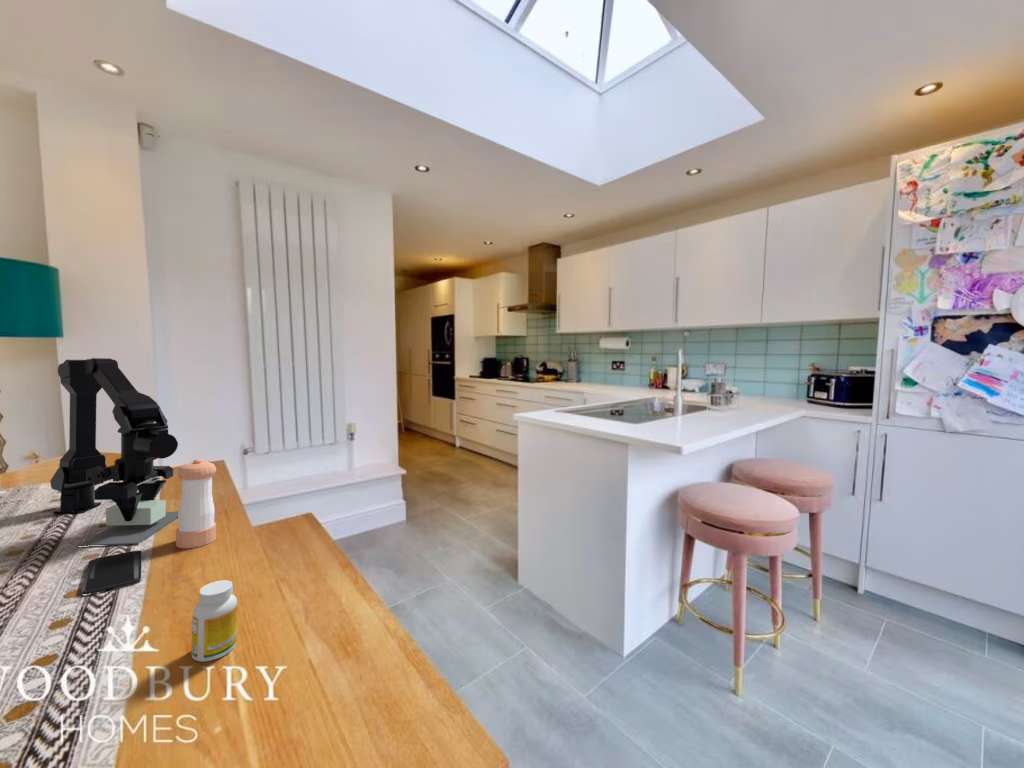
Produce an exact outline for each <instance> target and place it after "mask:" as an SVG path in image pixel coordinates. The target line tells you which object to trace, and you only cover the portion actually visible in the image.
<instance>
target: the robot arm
mask: <svg viewBox="0 0 1024 768" xmlns="http://www.w3.org/2000/svg"><path fill="white" fill-rule="evenodd" d="M118 363H119V362H118V361H117V360H116V359H113V358H105V357H104V358H103V357H102V358H100V357H92V358H87V359H65V360H64V361H63V362H61V363H60V364H59V365H58V366H57V375H58V376H59V377H60V384H61V385H62V387H63V388H64V389H65V390H66V391H67V392H68V393H69V434H68V435H69V439H68V440H69V441H68V442H69V443H68V445H69V446H68V450H67V451H65V453H64V454H63V456H62V457H61V458H60V459H59V464H58V468H57V469H56V471H55V473H54V475H52V477H51V479H50V480H49V482H50V487H51V489H52V490H54V491H57V492H60V499H59V500H60V503H59V506H60V508H58V509H55V510H53V514H65V513H66V514H70V513H73V514H75V513H85V512H87V511H90V510H92V509H94V508H96V507H98V506H100V505H102V501H105V500H107V501H109V500H111V501H112V502H114V503H115V504H117V506H118V507H119V509H120V511H121V513H122V515H123V517H124V519H125V521H132V519H133V517H134V514H135V512H136V509H137V506H138V504H139V501H142V500H156V497H157V496H158V495H159V493H160V491H161V490H162V488H163V487H164V485H165V483H166V482H167V480H169V479H170V478H172V477H174V469H173V467H172V466H170V465H154V461H155V460H157V459H162V460H163V459H168V458H169V457H171V456H172V455H174V454H175V452H176V451H177V449H178V447H179V443H178V440H177V438H176V437H175V436H174V435H173V434H170V433H169V425H168V420H167V418H166V416H165V414H164V412H163V411H162V408H161V406H160V405H159V403H157V402H156V401H155V400H154V399H153V398H152V397H151V396H149V395H147V394H144V393H142V392H139V391H138V390H137V389H136V388H135V386H134V385H133V384H132V382H131V381H130V380H129V379H128V377H126V375H125V374H124V373H123V371H122V370H121V369H120V367H119V364H118ZM101 390H103V391H104V392H105V393H106V394H107V396H108V397H109V399H110V400H111V401H112V403H113V405H114V406H113V409H112V415H113V418H114V420H115V422H116V423H117V424H118V426H119V428H118V429H117V432H118V433H119V434H121V437H120V438H121V439H120V441H121V442H120V457H119V458H116V459H115V460H114V464H112V465H110V466H109V465H108V466H107V464H106V459H107V458H106V457H107V456H106V455H104V454H102V453H101V452H100V451H99V450H98V449H97V397H98V396H97V395H98V393H99V392H100V391H101ZM160 477H163V478H164V479H162V480H161V478H160ZM111 480H112V481H111ZM107 481H109V482H107ZM110 481H111V482H110ZM104 482H106V483H104ZM100 484H101V486H99V485H100ZM97 485H98V487H97V488H95V486H97ZM96 501H97V502H96ZM99 501H101V502H99Z"/></svg>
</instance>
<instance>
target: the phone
mask: <svg viewBox="0 0 1024 768" xmlns="http://www.w3.org/2000/svg"><path fill="white" fill-rule="evenodd" d="M87 563H88V564H87V568H86V569H85V570H86V571H85V573H84V574H85V576H84V580H83V582H82V586H81V590H80V591H81V592H80V594H81V593H82V594H89V593H97V592H103V591H106V590H111V591H114V590H118V589H124V588H126V587H127V588H128V587H132V586H135V585H137V583H138V584H139V583H141V582H140V581H142V550H133V551H128V552H122V553H116V554H111V555H107V556H102V557H95V558H92V559H91V560H89V561H88V562H87ZM103 593H104V592H103Z"/></svg>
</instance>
